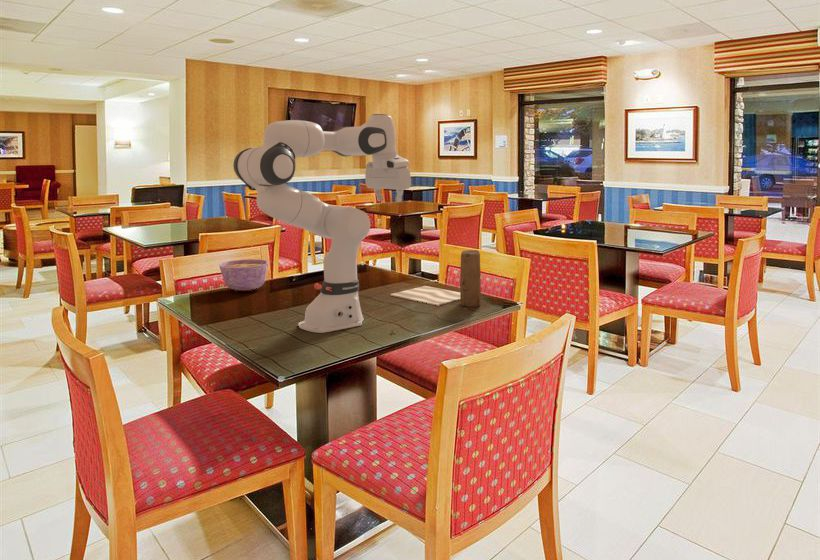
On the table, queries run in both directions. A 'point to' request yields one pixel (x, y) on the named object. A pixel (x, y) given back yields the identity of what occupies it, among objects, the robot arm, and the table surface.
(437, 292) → the board
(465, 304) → the block
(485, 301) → the table surface
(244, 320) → the table surface
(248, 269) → the bowl of food
